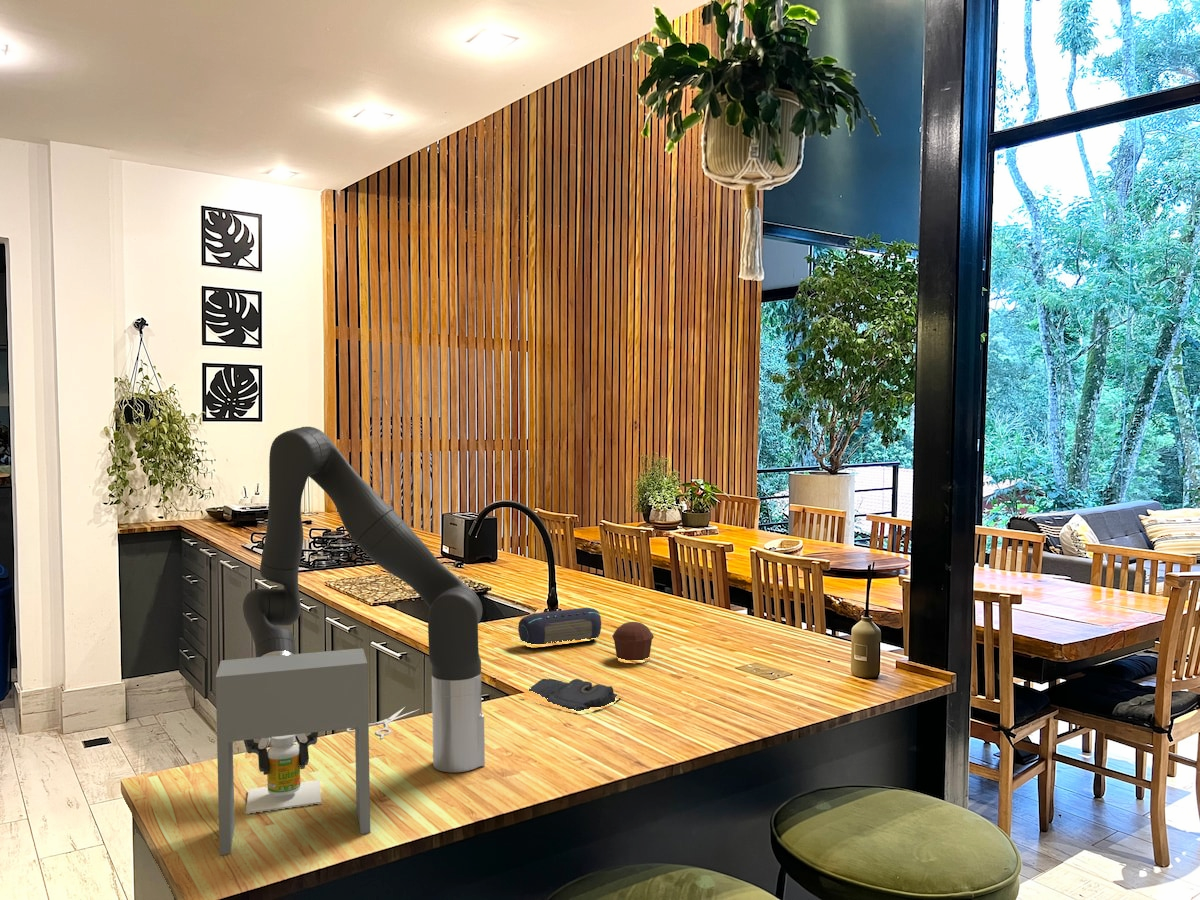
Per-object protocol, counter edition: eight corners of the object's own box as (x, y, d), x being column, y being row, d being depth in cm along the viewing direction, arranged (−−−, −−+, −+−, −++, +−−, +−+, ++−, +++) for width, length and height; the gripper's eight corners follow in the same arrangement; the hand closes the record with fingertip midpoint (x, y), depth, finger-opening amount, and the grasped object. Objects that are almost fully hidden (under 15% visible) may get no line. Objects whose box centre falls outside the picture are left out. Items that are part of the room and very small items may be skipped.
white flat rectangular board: (319, 782, 163) (319, 779, 163) (321, 804, 153) (321, 801, 153) (248, 791, 159) (248, 789, 159) (245, 814, 149) (245, 812, 149)
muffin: (646, 667, 238) (646, 629, 238) (606, 663, 241) (606, 626, 241) (658, 655, 249) (658, 619, 249) (620, 653, 253) (620, 617, 252)
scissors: (339, 732, 189) (393, 703, 207) (339, 735, 189) (393, 706, 207) (382, 738, 185) (433, 708, 203) (382, 742, 185) (433, 711, 203)
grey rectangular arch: (365, 804, 153) (362, 646, 152) (370, 832, 142) (367, 663, 141) (225, 824, 146) (221, 658, 145) (219, 855, 135) (215, 676, 134)
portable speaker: (528, 654, 253) (528, 618, 253) (515, 646, 262) (514, 612, 262) (607, 643, 265) (607, 609, 264) (592, 636, 273) (591, 603, 273)
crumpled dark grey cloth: (555, 685, 223) (555, 666, 223) (627, 702, 210) (626, 681, 210) (512, 701, 211) (512, 681, 211) (586, 719, 198) (586, 698, 198)
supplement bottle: (277, 799, 152) (276, 742, 152) (261, 790, 156) (260, 735, 156) (306, 789, 156) (305, 734, 156) (290, 781, 160) (289, 727, 160)
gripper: (235, 676, 159) (239, 766, 149) (320, 666, 165) (329, 753, 155) (235, 697, 164) (239, 786, 154) (317, 687, 170) (326, 772, 160)
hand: (284, 769), depth 154 cm, fingers closed on supplement bottle, 5 cm apart
